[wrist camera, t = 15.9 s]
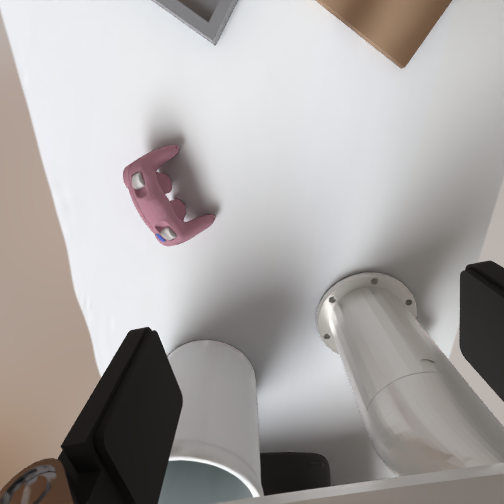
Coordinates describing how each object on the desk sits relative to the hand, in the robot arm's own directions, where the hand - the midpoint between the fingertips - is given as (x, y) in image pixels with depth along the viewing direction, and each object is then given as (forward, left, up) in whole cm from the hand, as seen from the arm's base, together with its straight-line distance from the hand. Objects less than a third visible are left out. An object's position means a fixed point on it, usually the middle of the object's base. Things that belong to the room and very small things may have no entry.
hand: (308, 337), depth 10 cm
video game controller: (+8, +7, -29) cm, 31 cm away
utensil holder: (-8, +28, -28) cm, 41 cm away
